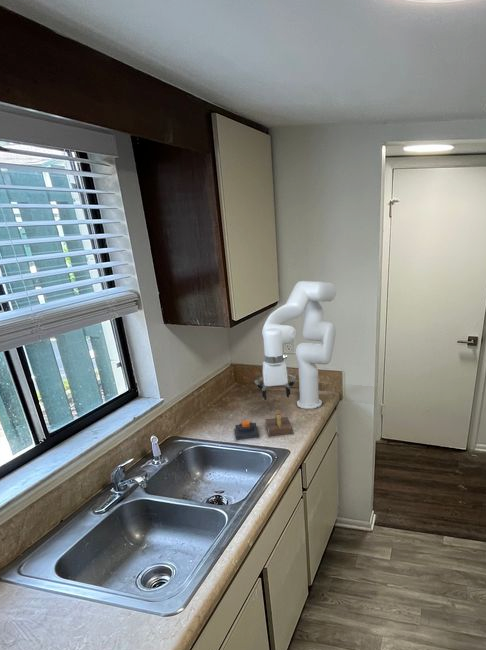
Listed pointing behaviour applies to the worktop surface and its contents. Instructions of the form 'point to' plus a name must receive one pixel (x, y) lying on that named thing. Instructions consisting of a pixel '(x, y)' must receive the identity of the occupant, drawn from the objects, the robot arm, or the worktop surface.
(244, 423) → the bell button
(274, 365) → the robot arm
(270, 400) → the worktop surface
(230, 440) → the worktop surface
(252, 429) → the doorbell
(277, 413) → the lock knob
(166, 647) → the worktop surface
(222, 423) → the worktop surface
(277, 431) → the plate
